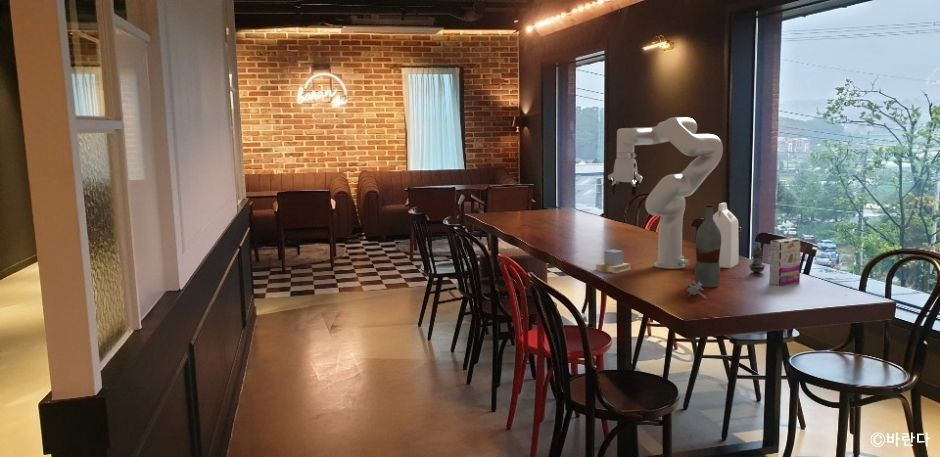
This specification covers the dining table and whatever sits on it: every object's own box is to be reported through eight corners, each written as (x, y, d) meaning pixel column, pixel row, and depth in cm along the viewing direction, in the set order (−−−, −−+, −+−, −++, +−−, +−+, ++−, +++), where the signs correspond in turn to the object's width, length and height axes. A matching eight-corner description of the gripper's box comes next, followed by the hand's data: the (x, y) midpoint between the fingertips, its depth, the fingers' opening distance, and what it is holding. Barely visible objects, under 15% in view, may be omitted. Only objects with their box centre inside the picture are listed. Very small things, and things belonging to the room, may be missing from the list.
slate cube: (623, 264, 296) (623, 250, 295) (615, 265, 292) (615, 252, 291) (612, 262, 300) (612, 249, 299) (604, 264, 296) (604, 250, 296)
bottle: (688, 283, 269) (690, 203, 264) (707, 281, 272) (710, 202, 268) (706, 288, 260) (708, 206, 256) (725, 286, 264) (728, 204, 259)
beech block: (630, 270, 297) (630, 263, 296) (616, 274, 290) (616, 267, 289) (610, 267, 304) (610, 260, 303) (596, 271, 297) (596, 264, 296)
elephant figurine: (706, 295, 251) (714, 291, 242) (695, 307, 250) (703, 304, 242) (683, 276, 253) (691, 272, 244) (673, 289, 252) (680, 285, 243)
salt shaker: (765, 273, 285) (766, 243, 283) (764, 276, 279) (765, 246, 278) (749, 272, 287) (750, 242, 285) (748, 275, 282) (749, 245, 280)
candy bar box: (788, 280, 272) (790, 237, 270) (799, 282, 267) (802, 239, 265) (767, 283, 267) (769, 240, 264) (779, 286, 262) (781, 241, 260)
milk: (711, 260, 313) (713, 201, 309) (738, 263, 306) (740, 202, 303) (702, 265, 303) (704, 204, 300) (730, 268, 297) (732, 205, 293)
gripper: (647, 156, 314) (646, 195, 317) (613, 155, 326) (612, 193, 329) (638, 157, 309) (637, 196, 311) (604, 156, 321) (603, 194, 323)
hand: (624, 194), depth 320 cm, fingers open, 9 cm apart
